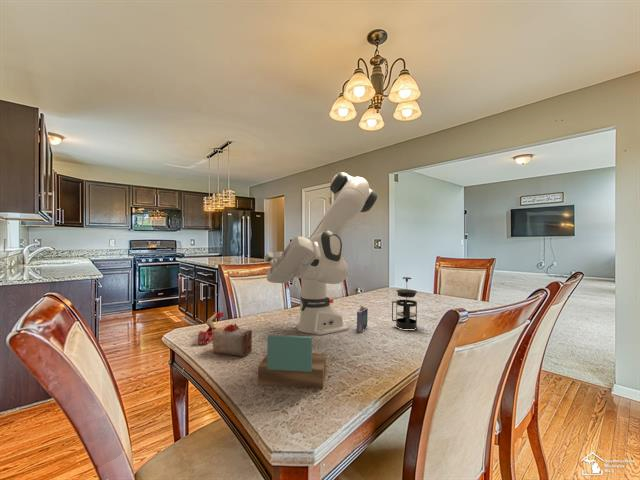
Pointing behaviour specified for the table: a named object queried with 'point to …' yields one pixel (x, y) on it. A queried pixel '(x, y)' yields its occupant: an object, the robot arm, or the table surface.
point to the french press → (405, 309)
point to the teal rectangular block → (289, 353)
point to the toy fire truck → (209, 329)
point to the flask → (362, 318)
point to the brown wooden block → (294, 374)
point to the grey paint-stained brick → (232, 341)
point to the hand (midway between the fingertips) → (266, 256)
